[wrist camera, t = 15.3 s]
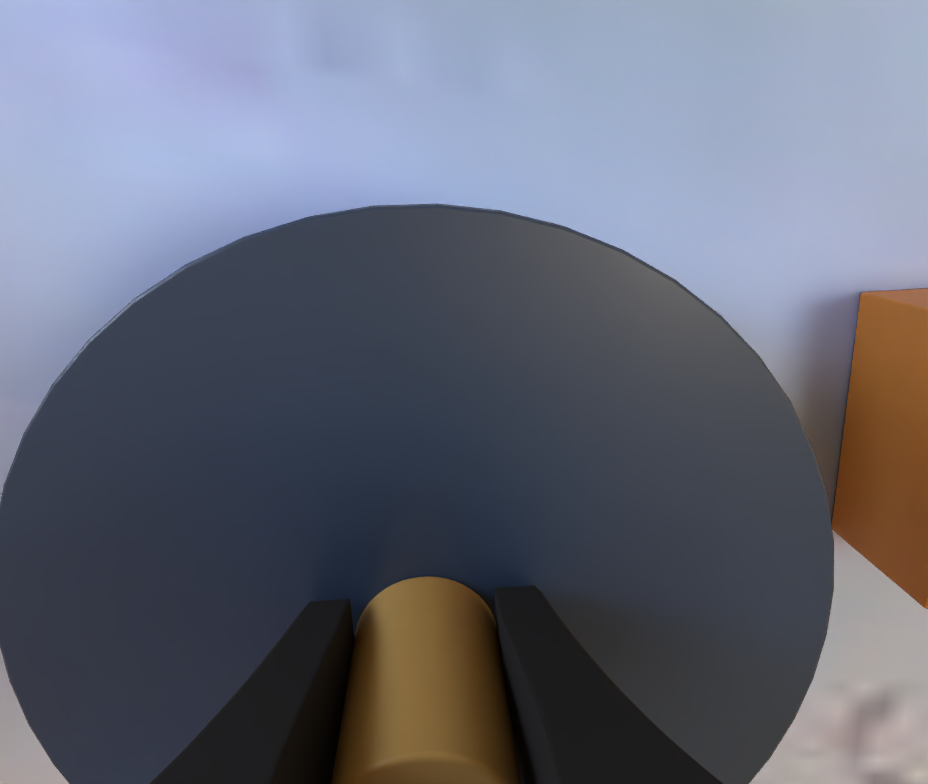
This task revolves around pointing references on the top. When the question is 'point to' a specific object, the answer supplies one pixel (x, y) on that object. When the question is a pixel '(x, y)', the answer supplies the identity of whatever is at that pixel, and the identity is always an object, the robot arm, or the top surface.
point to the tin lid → (412, 498)
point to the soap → (888, 440)
